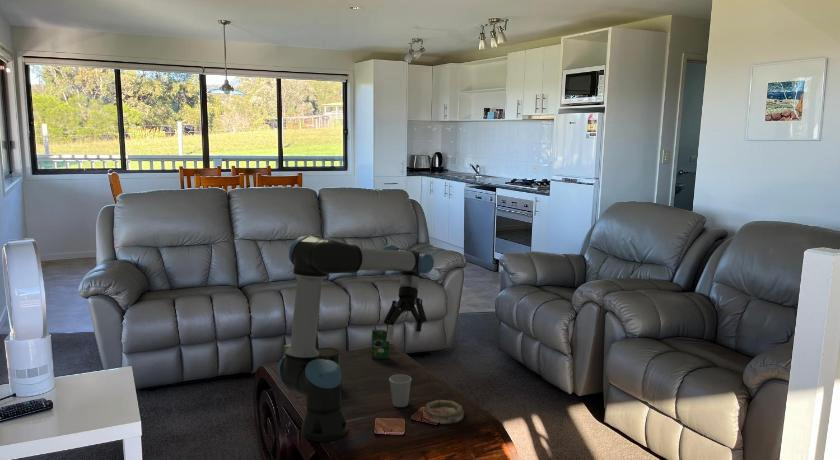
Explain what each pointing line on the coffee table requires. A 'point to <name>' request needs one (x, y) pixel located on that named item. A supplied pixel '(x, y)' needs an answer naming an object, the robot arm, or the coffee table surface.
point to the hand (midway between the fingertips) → (402, 341)
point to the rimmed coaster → (451, 409)
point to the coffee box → (380, 344)
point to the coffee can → (329, 354)
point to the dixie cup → (400, 389)
